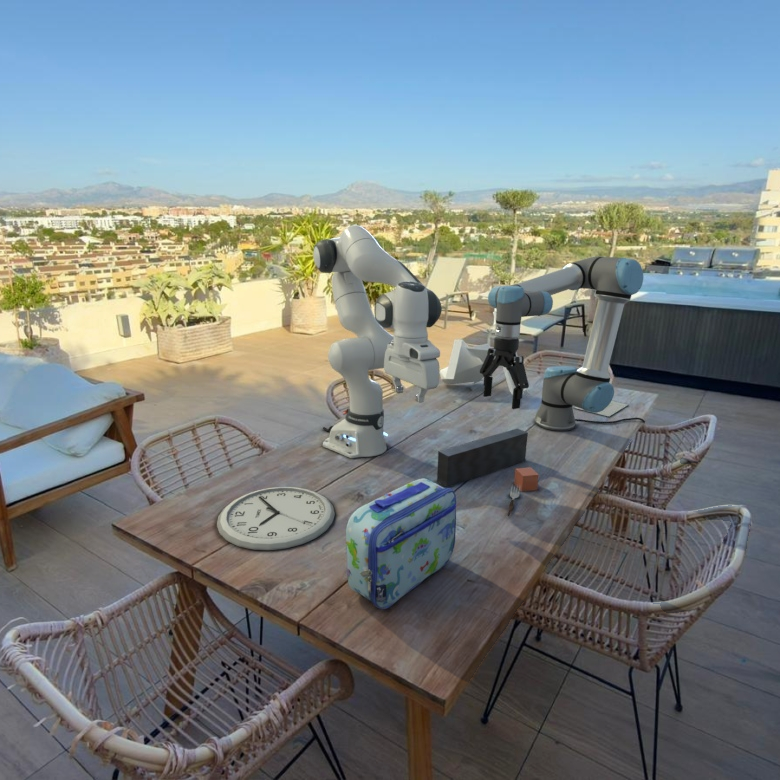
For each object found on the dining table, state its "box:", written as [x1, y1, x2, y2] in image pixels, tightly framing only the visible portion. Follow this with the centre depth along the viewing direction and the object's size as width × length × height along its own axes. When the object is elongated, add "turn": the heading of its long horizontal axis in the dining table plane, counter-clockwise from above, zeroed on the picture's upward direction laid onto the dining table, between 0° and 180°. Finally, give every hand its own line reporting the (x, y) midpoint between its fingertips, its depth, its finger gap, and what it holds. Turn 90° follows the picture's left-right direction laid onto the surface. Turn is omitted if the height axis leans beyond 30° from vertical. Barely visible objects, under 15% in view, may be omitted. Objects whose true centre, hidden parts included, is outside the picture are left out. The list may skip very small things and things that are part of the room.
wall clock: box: [216, 486, 336, 551], centre depth 136 cm, size 30×2×30 cm
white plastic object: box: [439, 310, 531, 397], centre depth 245 cm, size 37×45×31 cm
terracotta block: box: [513, 466, 540, 492], centre depth 154 cm, size 5×5×5 cm
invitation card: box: [573, 400, 629, 418], centre depth 226 cm, size 21×1×15 cm
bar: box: [436, 428, 529, 488], centre depth 163 cm, size 34×4×10 cm, turn 125°
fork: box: [507, 483, 521, 517], centre depth 145 cm, size 3×16×2 cm, turn 160°
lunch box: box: [345, 477, 457, 610], centre depth 110 cm, size 26×11×21 cm, turn 134°
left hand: (409, 397), depth 139 cm, fingers open, 8 cm apart
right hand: (501, 402), depth 168 cm, fingers open, 13 cm apart
